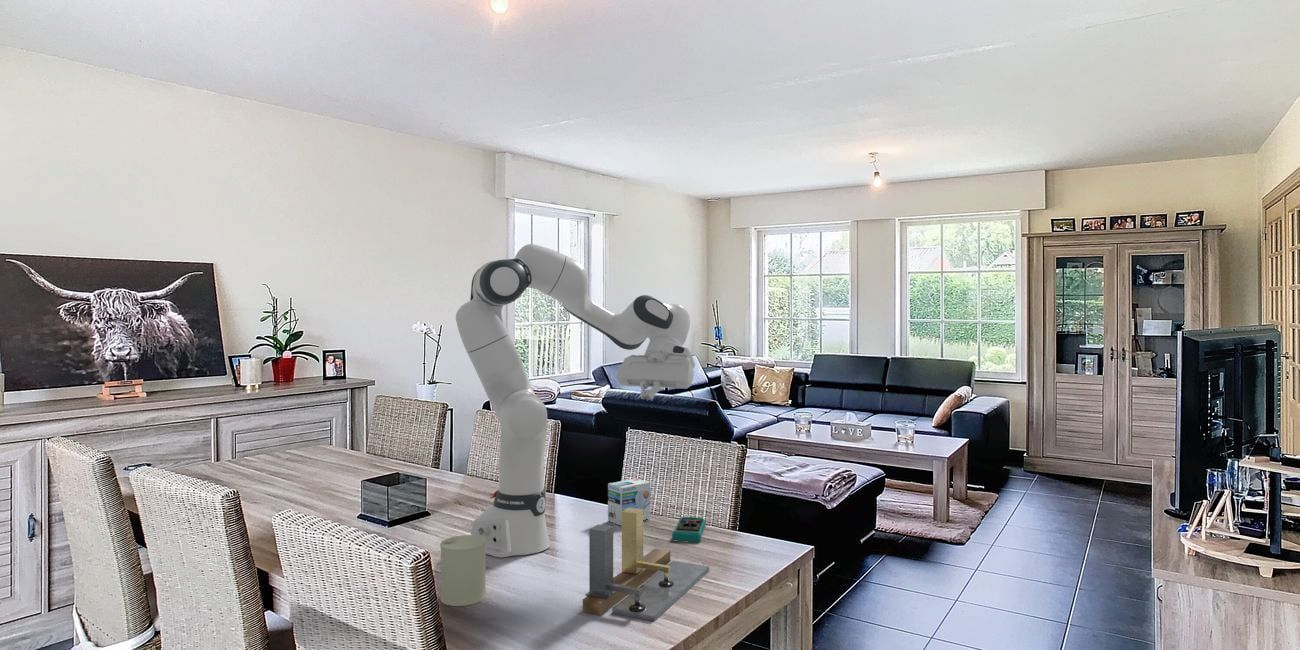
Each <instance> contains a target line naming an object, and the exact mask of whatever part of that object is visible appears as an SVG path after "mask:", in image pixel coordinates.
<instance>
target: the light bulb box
mask: <svg viewBox="0 0 1300 650" xmlns="http://www.w3.org/2000/svg"><path fill="white" fill-rule="evenodd" d="M627 508H637V509H643V520H646V519H650V520H651V481H646V480H644V479H639V478H630V479H626V480H625V479H624V480H620V481H616V482H609V483H607V522H609V521H610V523H612V522H613V523H612V524H615V523H616V524H615V525H618V526H620V525H621V527H622V511H624V510H625V509H627ZM646 521H647V520H646Z"/></svg>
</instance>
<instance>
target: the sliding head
mask: <svg viewBox="0 0 1300 650" xmlns="http://www.w3.org/2000/svg"><path fill="white" fill-rule="evenodd" d="M643 557H644V521H643V509H637V508H627V509H625V510H624V511H622V526H621V572H622V571H623V572H629V573H634V574H637V573H638V572H640V571H641V570H642V569H643V568H645V569H651V570H657V572H659V571H663V572H664V582H669V572H670V571H671V566H668V564H666V565H662V564H656V563H650V562H643Z"/></svg>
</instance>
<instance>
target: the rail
mask: <svg viewBox="0 0 1300 650" xmlns="http://www.w3.org/2000/svg"><path fill="white" fill-rule="evenodd" d="M643 562H650V563H656V564H662V565H668V564H669V563H671V550H667V549H661V548H654V549H652V550H651V551H649V552H648V553H646V554H645V555H643ZM657 573H658V571H657V570H651V569H645V568H643V569H642V570H641V571H640V572H638V573H637V574H634V573H629V572H623V571H622V570H621V572H619V573H618V574H617V575H615V576H613V583H614V584H620V585H625V586H631V587H636V588H639V587H640V586H641V585H642V584H644V583H645V582H646V581H648V580H649V579H650V578H651V577H653V576H654V575H655V574H657ZM628 595H629V594H627V593H622V592H617V593H615V594H614V595H613V596H611V597H610V598H609V599H607V600H605V599H599V598H594V597H589V596H585V597H584V598H583V599H582V613H586V614H591V615H596V616H602V615H603V614H604V613H606V612H607V611H609V610H610V609H611V608H613V607H614V606H616V605H617V604H618V603H619V602H621V601H622V600H623V599H624V598H626V597H627V596H628Z"/></svg>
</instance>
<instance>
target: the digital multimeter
mask: <svg viewBox="0 0 1300 650" xmlns="http://www.w3.org/2000/svg"><path fill="white" fill-rule="evenodd" d="M706 524H707V523H706V519H704V518H702V517H695V516H692V517H691V516H683V517H682V516H681V517H680V518H679V519H678V521H677V525H676V527H675V529H674V530H673V531H672V533H671V537H672V538H671V540H672V541H673V540H677V541H676V542H680V541H688V542H687V543H701V540H702V536H703V533H704V531H705V529H704V528H706V526H707V525H706Z"/></svg>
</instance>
